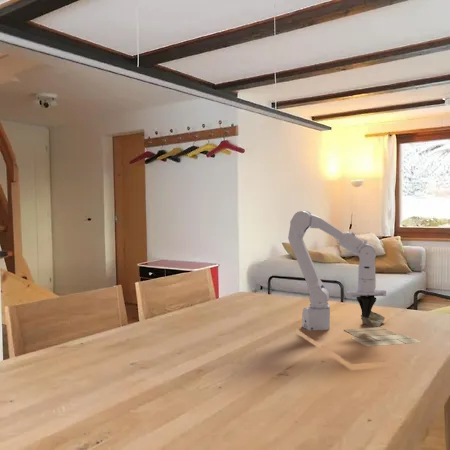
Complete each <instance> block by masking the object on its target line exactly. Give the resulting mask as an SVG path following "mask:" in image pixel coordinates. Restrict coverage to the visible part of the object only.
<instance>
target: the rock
mask: <svg viewBox="0 0 450 450" xmlns="http://www.w3.org/2000/svg"><path fill="white" fill-rule="evenodd" d="M360 317H361V321H362V323H361V324H363V325H366V326H367V327H369V328H376V327H380V326H381V325H382V324H383V322H385V317H384V316H383V315H381V314H379V313H377V312H373V311H372V310H371V312H370V316H369V318H365V317H363V315H362V314H361V315H360Z"/></svg>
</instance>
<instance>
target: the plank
mask: <svg viewBox="0 0 450 450" xmlns="http://www.w3.org/2000/svg"><path fill="white" fill-rule="evenodd" d="M343 331H344V332H346V333H348V334H350V335H351V336H354V338H357V337H371V336H385V335H396V333H394V332H392V331H390V329H389V330H388V329H387V328H385V327H383V326H381V327H376V328H373V327H362V328H351V329H348V328H347V329H343Z"/></svg>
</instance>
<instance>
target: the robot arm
mask: <svg viewBox="0 0 450 450" xmlns="http://www.w3.org/2000/svg"><path fill="white" fill-rule="evenodd" d="M289 224H290V226H289V231H288V237H287V238H288V242H289V244H290V247H291V249H292V252H293V254H294V256H295V259H296V260H297V263H298V265H299V268H300V271H301V272H302V275H303V279H305V282H306V285H307V291H308V293H309V301H310V302H309V303H310V304H309V306H308V307H304V308H303V309H302V312H301V315H302V316H301V318H302V319H301V320H302V321H301V326H302V328H303V329H306V330H307V331H326V330H329V329H330V328H331V327H330V325H331V319H330V318H331V306H330V304H329V300H330V297H331V292H330V291H329V289H328V288H327V287H326V286H325V285H324V283H323V281H322V279H321V278H320V276H319V274H318V272H317V270H316V267H315V264H314V262H313V260H312V258H311V255H310V253H309V250H308V248H307V246H306V243H305V240H304V236H305V235H306V232H307V230H308V229H319V230H321V231H323V232H324V233H326V234H328V235H329V236H331V237H333V238H334V239H336V240H338V244H339V246H340V247H342V248H343V249H346V250H347V251H348V252H350V253H352V254H353V255H357V256H358V258H359V262H358V263H359V265H358V277H357V278H358V279H357V283H358V284H357V289H355V290H347V291H346V293H345V295H346V298H348V299H352V298H356V300H357V302H358V305H359V307H360V310H361V315H363V317H365V318H369V316H370V312H371V311H372V308H373V307H374V305H375V304H376V301H377V297H387V290H385V289H376V257H377V250H376V248H375V246H373V245H372V244H371V243H368V241H367V240H365V239H364V240H363V239H361V238H360V237H358V236H357V235H356V233H355V232H353V231H352V232H351V231H345V232H343V231H342V230H340V229H339V228H338V227H336V226H334V225H332V224H331V223H329V222H328V221H326V220H325V219H324V218H322V217H320V216H318V215H316V214H315V213H311V212H310V211H308V210H299V211H297V212H295V213H294V215H293V216H292V218H291V219H290V223H289Z"/></svg>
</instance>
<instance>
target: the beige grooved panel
mask: <svg viewBox="0 0 450 450" xmlns="http://www.w3.org/2000/svg"><path fill="white" fill-rule="evenodd" d="M350 339H352V340H353V341H355V342H357V343H359V344H361V345H363V346H364V347H366V348H367V347H377V346H378V347H379V346H392V345H404V344H414V343H415V344H417V343H421V341H420V340H418V339H416V338H413V337H411V336H408V335H406V334H404V333H401V334H400V333H399V334H395V335H382V336H368V337H351V338H350Z"/></svg>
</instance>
